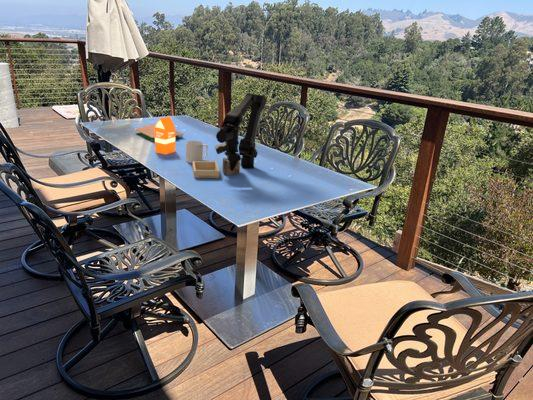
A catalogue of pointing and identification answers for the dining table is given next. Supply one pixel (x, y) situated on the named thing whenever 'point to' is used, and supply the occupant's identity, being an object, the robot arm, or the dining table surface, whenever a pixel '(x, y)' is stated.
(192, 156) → the mug
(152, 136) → the brown green flat box
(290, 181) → the dining table surface
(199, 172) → the carton
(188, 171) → the dining table surface
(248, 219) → the dining table surface
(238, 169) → the walnut box
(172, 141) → the orange juice
